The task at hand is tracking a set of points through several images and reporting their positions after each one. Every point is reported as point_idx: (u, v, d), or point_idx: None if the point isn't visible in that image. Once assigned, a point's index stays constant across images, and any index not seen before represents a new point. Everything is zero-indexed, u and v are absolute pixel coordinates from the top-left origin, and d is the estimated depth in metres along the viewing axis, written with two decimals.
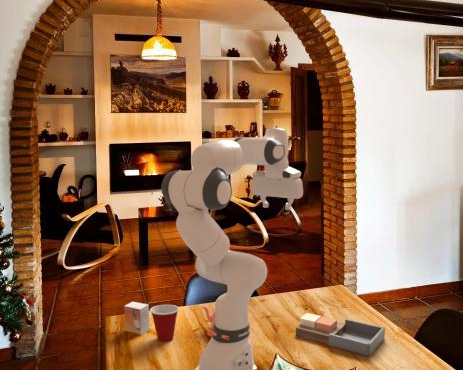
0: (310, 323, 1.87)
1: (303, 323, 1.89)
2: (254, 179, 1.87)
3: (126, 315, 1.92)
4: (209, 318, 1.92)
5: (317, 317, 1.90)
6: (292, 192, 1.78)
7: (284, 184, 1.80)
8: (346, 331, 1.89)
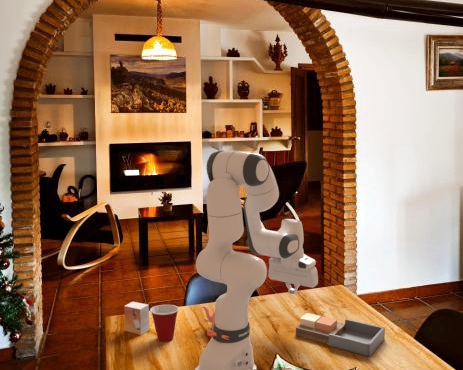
0: (310, 323, 1.87)
1: (303, 323, 1.89)
2: (271, 265, 1.96)
3: (126, 315, 1.92)
4: (209, 318, 1.92)
5: (317, 317, 1.90)
6: (307, 281, 1.87)
7: (300, 273, 1.89)
8: (346, 331, 1.89)
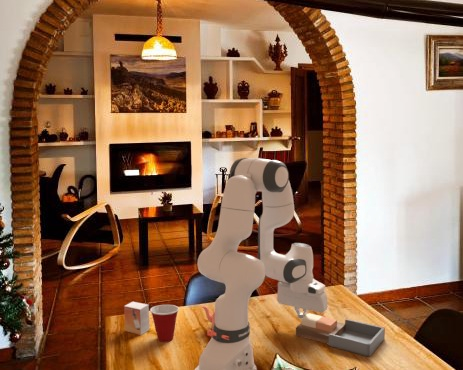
0: (312, 324, 1.87)
1: (304, 323, 1.89)
2: (279, 289, 1.94)
3: (126, 315, 1.92)
4: (209, 318, 1.92)
5: (318, 317, 1.89)
6: (317, 307, 1.86)
7: (309, 298, 1.88)
8: (346, 331, 1.89)
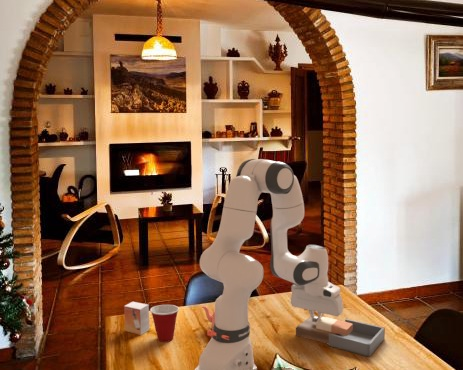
0: (327, 327, 1.83)
1: (319, 327, 1.85)
2: (293, 292, 1.91)
3: (126, 315, 1.92)
4: (209, 318, 1.92)
5: (333, 321, 1.86)
6: (332, 310, 1.83)
7: (324, 301, 1.84)
8: None
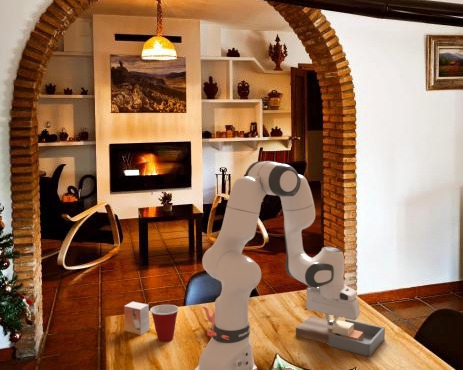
0: (343, 331, 1.80)
1: (335, 331, 1.82)
2: (308, 295, 1.87)
3: (126, 315, 1.92)
4: (209, 318, 1.92)
5: (350, 325, 1.82)
6: (349, 313, 1.79)
7: (341, 304, 1.81)
8: None
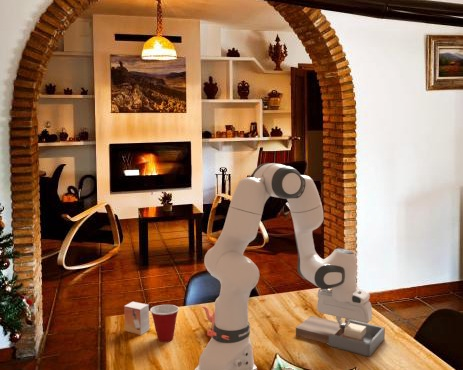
0: (356, 334, 1.77)
1: (348, 334, 1.79)
2: (320, 297, 1.85)
3: (126, 315, 1.92)
4: (209, 318, 1.92)
5: (362, 328, 1.80)
6: (361, 316, 1.76)
7: (353, 307, 1.78)
8: None
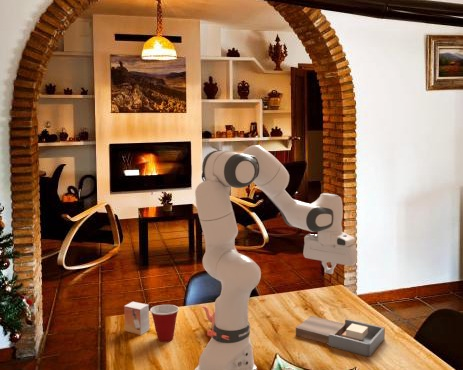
0: (357, 335, 1.77)
1: (349, 335, 1.78)
2: (306, 242, 1.86)
3: (126, 315, 1.92)
4: (209, 318, 1.92)
5: (364, 328, 1.79)
6: (346, 259, 1.78)
7: (338, 250, 1.79)
8: None
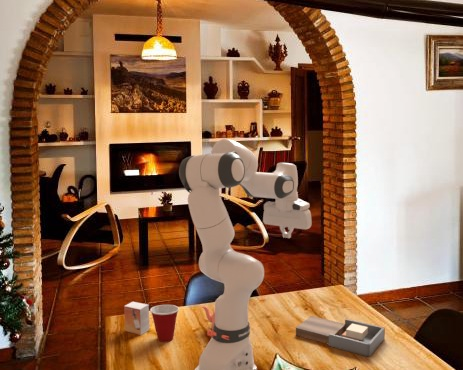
0: (357, 335, 1.77)
1: (349, 335, 1.78)
2: (265, 209, 1.99)
3: (126, 315, 1.92)
4: (209, 318, 1.92)
5: (364, 328, 1.79)
6: (301, 223, 1.91)
7: (294, 215, 1.92)
8: None
